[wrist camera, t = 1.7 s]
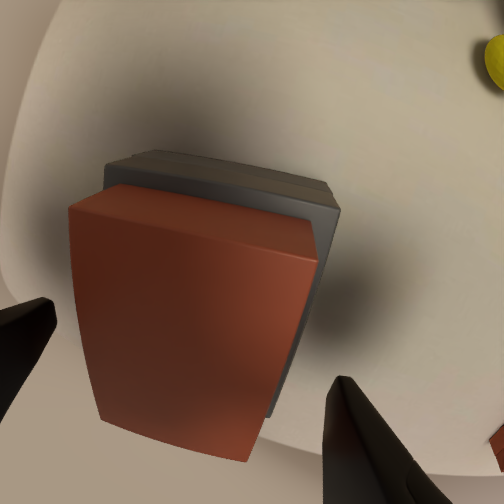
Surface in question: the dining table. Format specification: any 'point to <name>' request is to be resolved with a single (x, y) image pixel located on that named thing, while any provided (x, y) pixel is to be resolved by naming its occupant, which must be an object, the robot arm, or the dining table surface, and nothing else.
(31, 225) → the dining table surface
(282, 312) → the rust red rectangular block
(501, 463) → the rust books
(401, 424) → the dining table surface
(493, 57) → the molecular model
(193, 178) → the grey books
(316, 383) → the dining table surface
